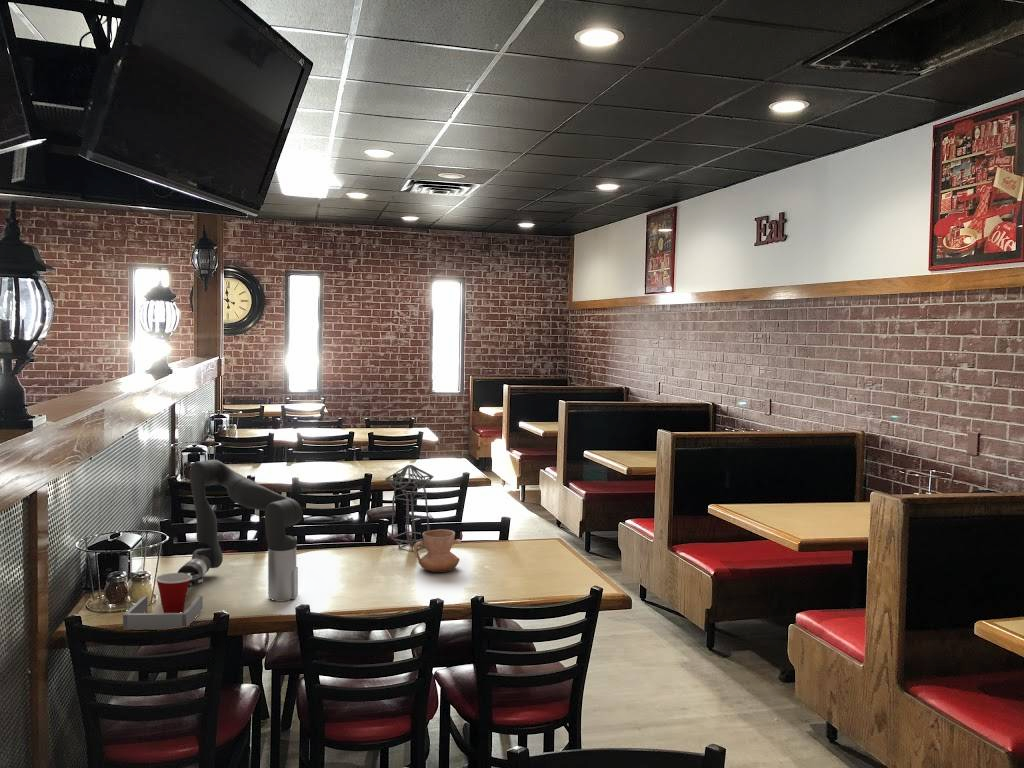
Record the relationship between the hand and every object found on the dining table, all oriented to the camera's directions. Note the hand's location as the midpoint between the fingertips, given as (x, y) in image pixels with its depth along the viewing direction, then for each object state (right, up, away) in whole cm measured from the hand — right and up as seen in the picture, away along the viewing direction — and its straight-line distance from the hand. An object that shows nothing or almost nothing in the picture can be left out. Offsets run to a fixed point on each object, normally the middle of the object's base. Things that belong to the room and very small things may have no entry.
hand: (174, 588), depth 257 cm
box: (+1, -7, -10) cm, 13 cm away
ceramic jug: (+81, -5, +46) cm, 93 cm away
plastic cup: (+1, -7, -4) cm, 8 cm away
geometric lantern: (+66, -2, +73) cm, 99 cm away
